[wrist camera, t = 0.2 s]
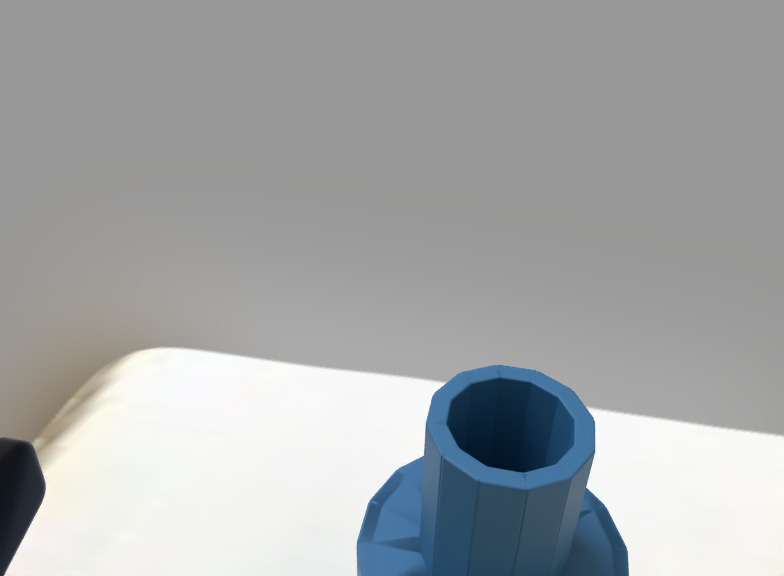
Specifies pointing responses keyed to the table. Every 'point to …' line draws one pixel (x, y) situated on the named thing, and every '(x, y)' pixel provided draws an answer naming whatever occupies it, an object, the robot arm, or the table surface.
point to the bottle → (495, 488)
